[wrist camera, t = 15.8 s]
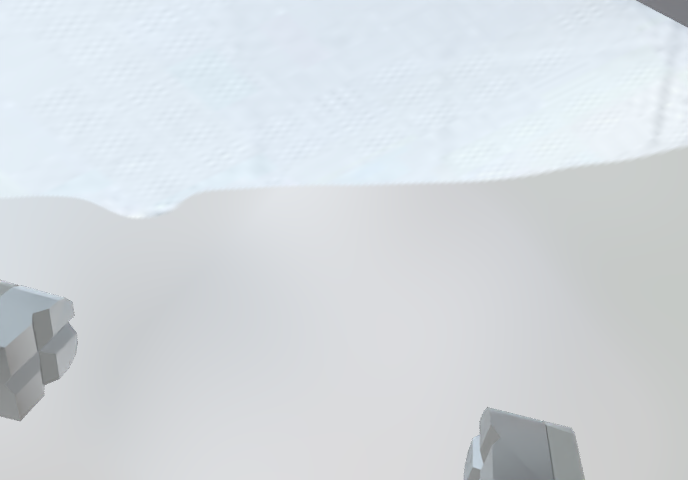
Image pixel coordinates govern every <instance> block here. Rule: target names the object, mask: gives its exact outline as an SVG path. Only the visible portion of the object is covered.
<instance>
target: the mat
mask: <svg viewBox="0 0 688 480" xmlns="http://www.w3.org/2000/svg"><path fill="white" fill-rule="evenodd" d="M637 1H639V2H641V3H643V4H644V5H646V6H648V7H650V8H652V9H654V10H656V11H658V12H660V13H662V14H663V15H665V16H667V17H669V18H671V19H673V20H675V21H677V22H679V23H681V24H682V25H684V26H686V27H688V0H637Z"/></svg>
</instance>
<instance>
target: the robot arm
mask: <svg viewBox="0 0 688 480" xmlns="http://www.w3.org/2000/svg"><path fill="white" fill-rule="evenodd" d="M73 316H74V309H73V303H72V301H70V300H68V299H66V298H64V297H60V296H57V295H54V294H50V293H47V292H43V291H39V290H36V289H32V288H29V287H26V286H22V285H16V284H13V283H10V282H6V281H2V280H0V416H1V417H5V418H9V419H14V420H17V421H21V420H22V419H23V418H24V416H25V415H27V413H28V412H29V411H30V410H31V409H32V408H33V407H34V406H35V405H36V404H37V403H38V402H39V401H40V400H41V398H42V397H43V396H44V385H46V384H48V383H51V382H53V381H56V380H58V379H60V378H61V376H63V374H64V373H65V372H66V371H67V370H68V369H69V367H70V365H71V363H72V361H73V359H74V357H75V355H76V350H77V344H78V341H77V333H76V331H75V330H74V329H73V328H72V327H71V325H70V324H69V321H70V320H71V319H72V318H73ZM464 480H585V478H584V473H583V468H582V464H581V459H580V455H579V450H578V446H577V441H576V436H575V432H574V431H573V430H572V428H570V427H566V426H562V425H558V424H554V423H550V422H546V421H540V420H536V419H533V418H529V417H525V416H521V415H517V414H513V413H509V412H505V411H501V410H497V409H493V408H489V407H487V408H486V409H485V411H484V412H483V414H482V417H481V419H480V435H478V436H476V437H474V438H473V439H472V442H471V445H470V447H469V450H468V454H467V458H466V463H465V469H464Z"/></svg>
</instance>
